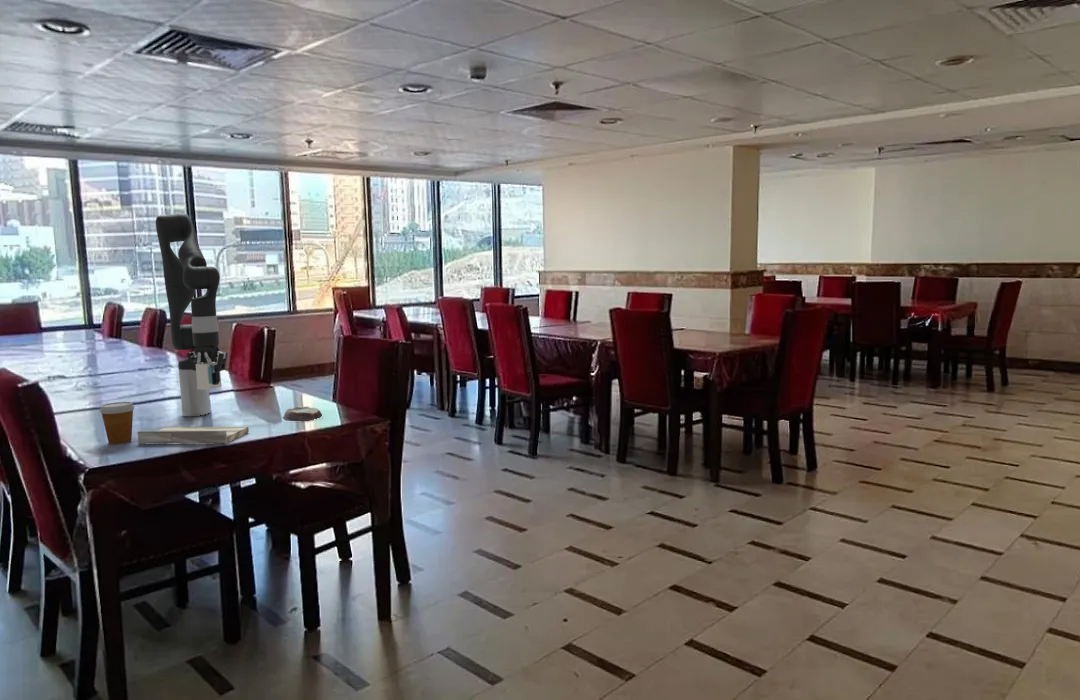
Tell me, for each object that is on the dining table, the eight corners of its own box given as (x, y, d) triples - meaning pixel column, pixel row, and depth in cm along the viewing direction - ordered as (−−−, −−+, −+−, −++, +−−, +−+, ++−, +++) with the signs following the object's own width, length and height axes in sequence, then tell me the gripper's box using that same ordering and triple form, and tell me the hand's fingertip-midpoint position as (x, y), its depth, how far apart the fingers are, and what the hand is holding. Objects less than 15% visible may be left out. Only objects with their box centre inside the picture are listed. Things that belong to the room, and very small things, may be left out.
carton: (211, 386, 240) (209, 361, 239) (222, 386, 238) (220, 361, 237) (197, 389, 234) (195, 364, 233) (208, 389, 233) (206, 364, 232)
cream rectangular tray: (166, 433, 244) (165, 421, 244) (248, 432, 242) (247, 420, 241) (137, 444, 229) (136, 431, 228) (224, 444, 226) (223, 431, 226)
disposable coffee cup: (95, 445, 229) (92, 407, 227) (114, 438, 238) (111, 401, 237) (125, 445, 228) (122, 407, 227) (143, 438, 237) (140, 401, 236)
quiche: (257, 424, 259) (256, 412, 258) (296, 412, 277) (295, 402, 277) (306, 427, 251) (306, 416, 251) (343, 415, 270) (342, 405, 269)
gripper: (232, 329, 235) (236, 382, 237) (195, 329, 239) (199, 381, 242) (215, 331, 228) (219, 387, 230) (177, 331, 232) (182, 385, 235)
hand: (209, 383), depth 236 cm, fingers closed on carton, 4 cm apart
